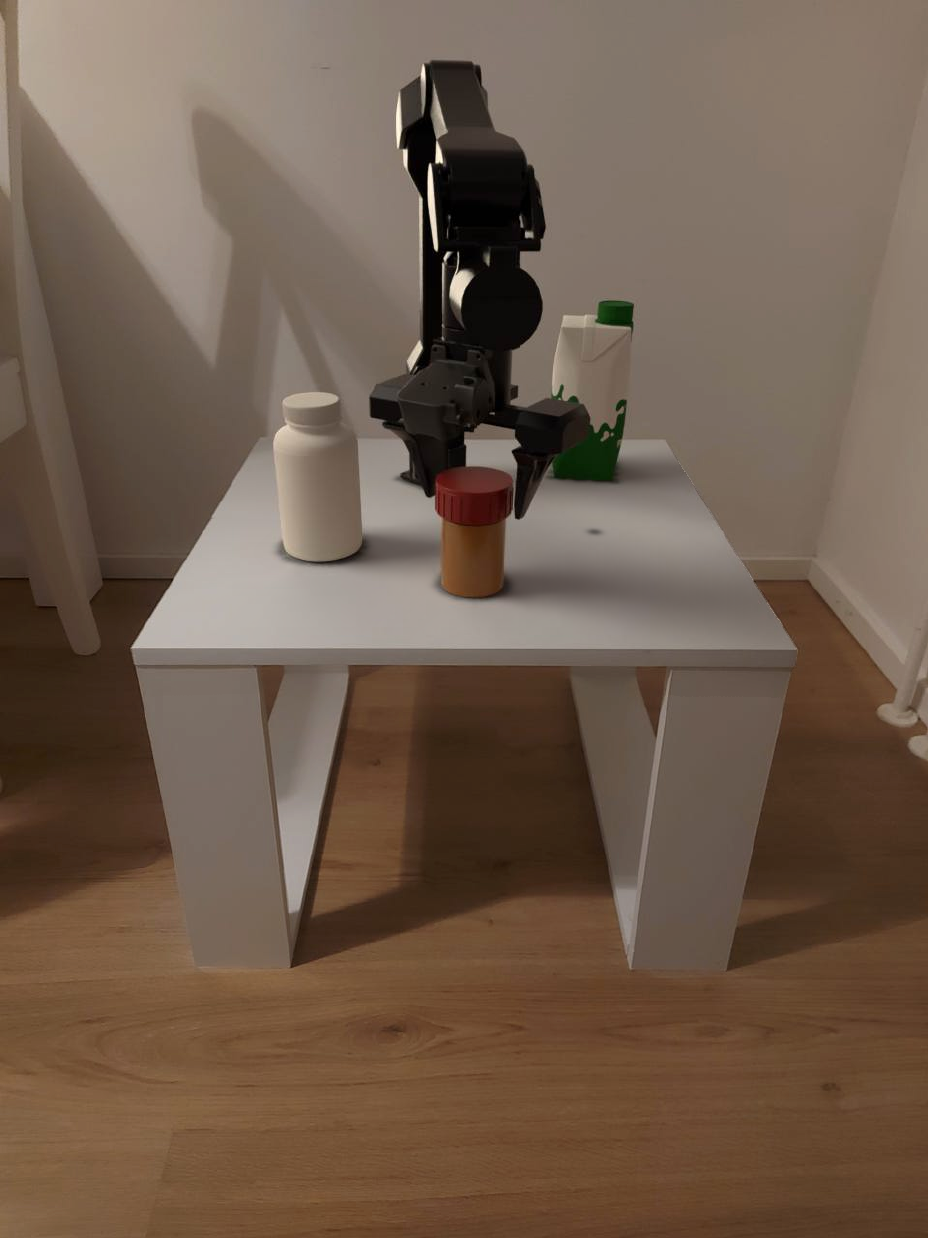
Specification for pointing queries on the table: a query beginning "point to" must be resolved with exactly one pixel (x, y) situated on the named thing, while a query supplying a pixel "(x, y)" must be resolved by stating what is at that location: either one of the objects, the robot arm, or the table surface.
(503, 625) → the table surface
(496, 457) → the table surface
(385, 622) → the table surface
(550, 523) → the table surface
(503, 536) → the jar
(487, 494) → the lid
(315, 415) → the pill bottle
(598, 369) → the soya milk
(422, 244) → the robot arm
